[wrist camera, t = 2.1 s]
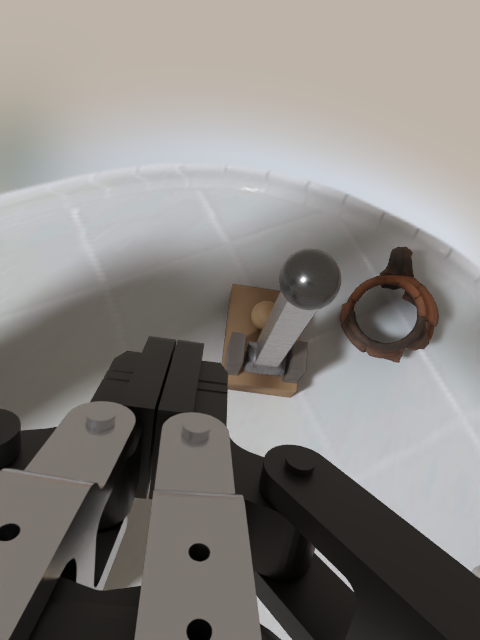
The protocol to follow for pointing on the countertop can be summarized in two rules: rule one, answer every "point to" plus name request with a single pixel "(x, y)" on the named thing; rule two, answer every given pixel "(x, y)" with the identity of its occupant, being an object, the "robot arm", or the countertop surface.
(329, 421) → the countertop surface
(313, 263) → the lever
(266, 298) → the nutcracker base
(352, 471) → the countertop surface
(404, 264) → the pottery mug
